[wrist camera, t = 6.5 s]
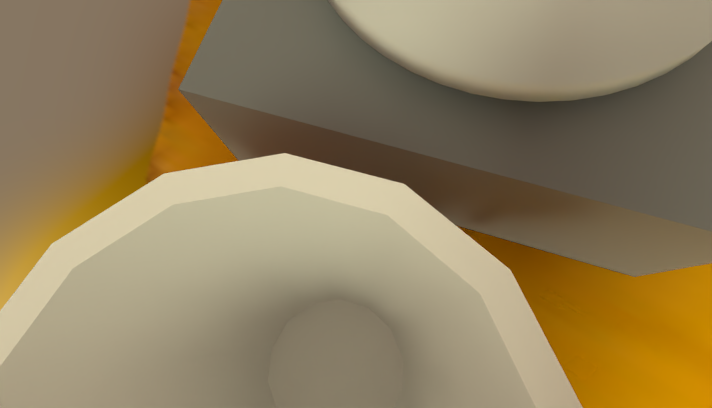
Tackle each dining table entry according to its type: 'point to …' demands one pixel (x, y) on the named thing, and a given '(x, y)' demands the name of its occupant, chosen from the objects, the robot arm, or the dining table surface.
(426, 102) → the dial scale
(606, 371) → the dining table surface
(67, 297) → the foam cup
